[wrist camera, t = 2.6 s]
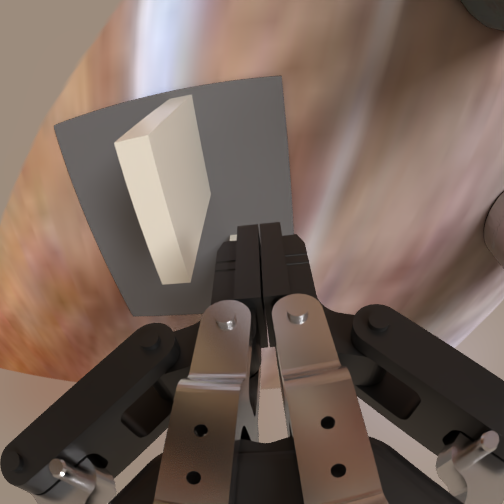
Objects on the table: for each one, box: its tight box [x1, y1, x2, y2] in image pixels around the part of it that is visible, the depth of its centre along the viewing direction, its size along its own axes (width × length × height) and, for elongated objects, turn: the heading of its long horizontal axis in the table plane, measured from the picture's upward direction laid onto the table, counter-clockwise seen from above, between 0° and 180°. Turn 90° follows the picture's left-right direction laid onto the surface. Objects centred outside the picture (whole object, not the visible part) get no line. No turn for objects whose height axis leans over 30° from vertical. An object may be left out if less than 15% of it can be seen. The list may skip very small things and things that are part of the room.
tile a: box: [114, 95, 211, 285], centre depth 18 cm, size 2×8×10 cm, turn 7°
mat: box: [54, 76, 294, 316], centre depth 26 cm, size 18×22×1 cm
